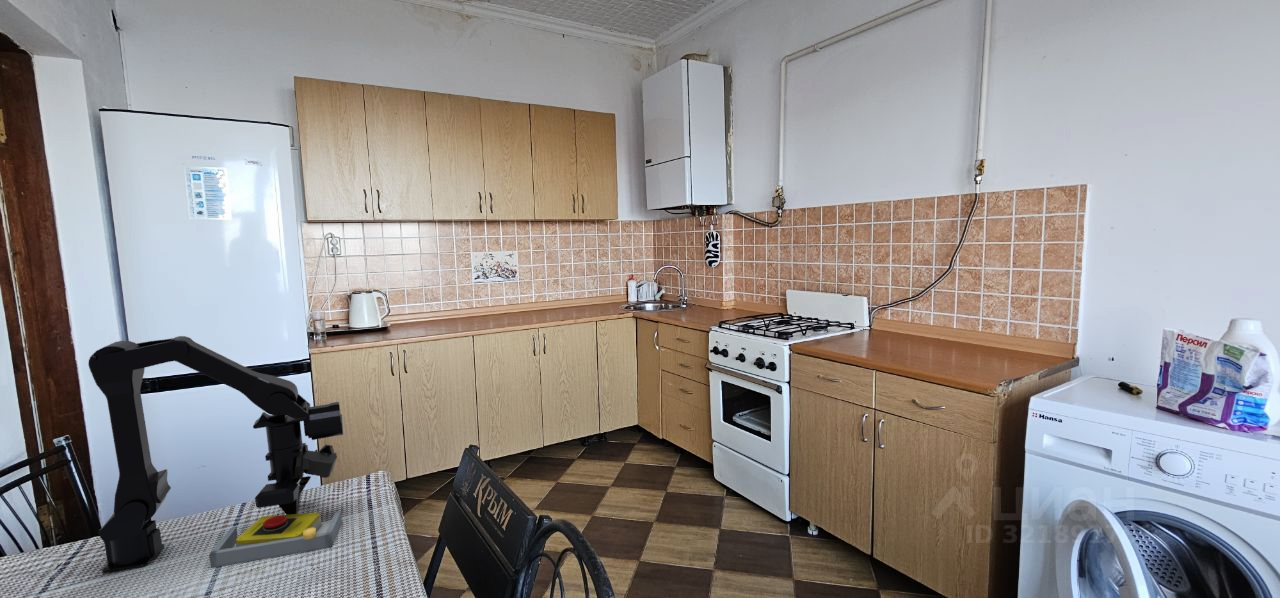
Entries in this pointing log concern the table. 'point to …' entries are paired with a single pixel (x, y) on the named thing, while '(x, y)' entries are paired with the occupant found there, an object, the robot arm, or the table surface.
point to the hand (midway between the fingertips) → (293, 518)
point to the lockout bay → (273, 545)
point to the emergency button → (280, 528)
